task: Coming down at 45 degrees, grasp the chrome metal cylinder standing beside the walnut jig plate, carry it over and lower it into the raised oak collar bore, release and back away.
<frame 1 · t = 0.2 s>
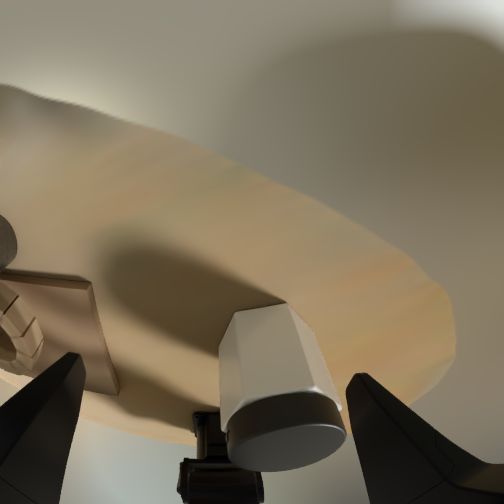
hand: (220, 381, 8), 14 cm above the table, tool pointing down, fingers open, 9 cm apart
jig: (37, 332, 24), on the table
jar: (265, 337, 27), on the table
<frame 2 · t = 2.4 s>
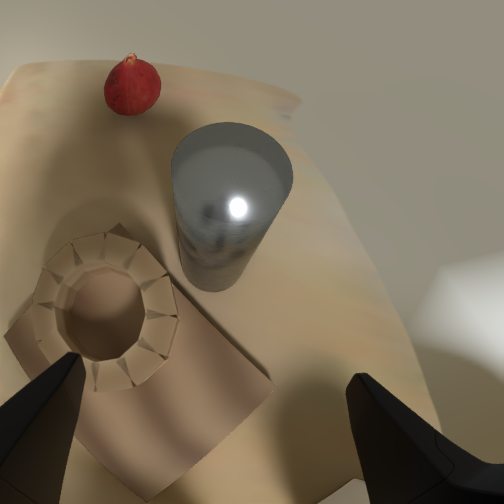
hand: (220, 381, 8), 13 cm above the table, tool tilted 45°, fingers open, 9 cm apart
jig: (125, 368, 19), on the table
pomegranate: (136, 114, 27), on the table
chrome metal cylinder: (212, 261, 24), on the table
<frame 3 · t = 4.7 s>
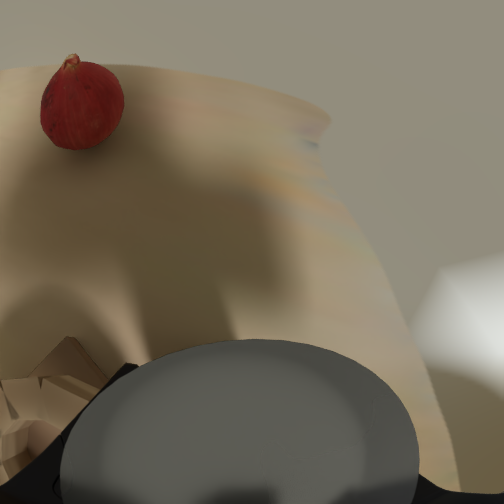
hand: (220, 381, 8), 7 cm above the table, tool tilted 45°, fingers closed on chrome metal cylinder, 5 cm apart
pomegranate: (93, 143, 18), on the table
chrome metal cylinder: (208, 392, 14), on the table, touching gripper
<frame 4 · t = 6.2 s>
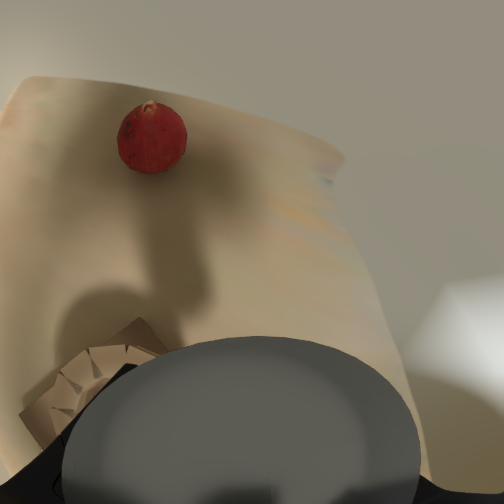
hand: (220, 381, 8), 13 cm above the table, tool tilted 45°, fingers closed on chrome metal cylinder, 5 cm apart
jig: (148, 458, 17), on the table
pomegranate: (155, 165, 25), on the table
chrome metal cylinder: (209, 392, 14), point 6 cm above the table, touching gripper
when the fingers open (9 cm above the table, at t = 7.9 s): chrome metal cylinder drops 1 cm, resting on jig.
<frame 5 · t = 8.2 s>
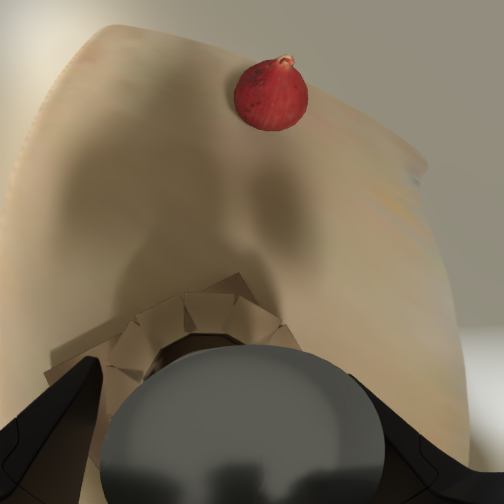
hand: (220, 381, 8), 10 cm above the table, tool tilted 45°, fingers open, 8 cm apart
jig: (208, 445, 15), on the table
pomegranate: (260, 127, 25), on the table
chrome metal cylinder: (206, 390, 15), point 1 cm above the table, touching jig
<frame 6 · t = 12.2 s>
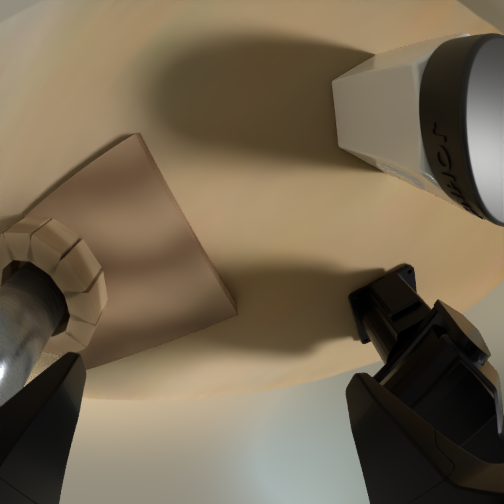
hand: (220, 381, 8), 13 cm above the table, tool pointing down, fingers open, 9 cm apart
jig: (96, 276, 21), on the table
chrome metal cylinder: (50, 280, 19), point 1 cm above the table, touching jig
jar: (382, 113, 18), on the table
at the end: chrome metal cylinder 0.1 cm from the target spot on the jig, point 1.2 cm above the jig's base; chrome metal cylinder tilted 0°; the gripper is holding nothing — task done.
